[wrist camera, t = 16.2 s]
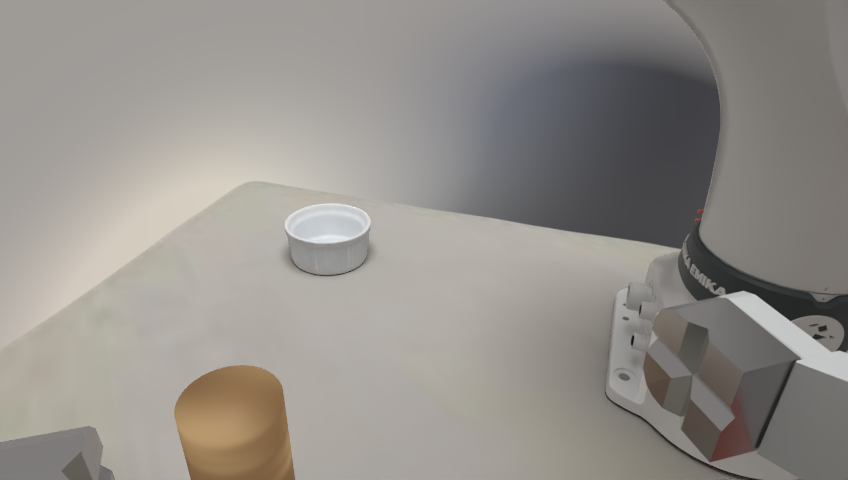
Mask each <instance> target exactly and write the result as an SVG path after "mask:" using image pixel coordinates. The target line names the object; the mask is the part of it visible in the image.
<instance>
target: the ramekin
mask: <svg viewBox="0 0 848 480" xmlns="http://www.w3.org/2000/svg"><path fill="white" fill-rule="evenodd" d="M370 227H371V219H370V217H369V216H368V214H367V213H366V212H364V211H363V210H361V209H359V208H356V207H353V206H350V205H344V204H332V203H331V204H330V203H328V204H317V205H312V206H308V207H305V208H302V209H299V210H297V211H295V212H294V213H292V214H291V215H290V216H289V217H288V218H287V219H286V221H285V223H284V228H285V232H286V234H287V236H288V241H289V246H290V251H291V256H292V259H293V261H294V263H295V264H296V265H297V266H298V267H299V268H300V269H302V270H304V271H306V272H309V273H313V274H318V275H336V274H342V273H346V272H349V271H351V270H353V269H355V268H357V267H358V266H360V265H361V264H362V263H363V262H364V261H365V259H366V256H367V251H368V238H369V231H370Z"/></svg>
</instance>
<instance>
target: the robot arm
mask: <svg viewBox="0 0 848 480" xmlns="http://www.w3.org/2000/svg"><path fill="white" fill-rule="evenodd" d="M664 1H665V3H666V4H667V5H668V6H669V7H670V8H672V9H673V10H674V11H675V12H676V13H677V14H678V15H679V16H680V17H681V18H682V19H683V21H684V22H685V23H686V24H687V25H688V26H689V27H690V28H691V30H692V31H693V33H694V34H695V36H696V37H697V39H698V40H699V41H700V43H701V45H702V47H703V49H704V51H705V52H706V54H707V56H708V59H709V61H710V64H711V66H712V69H713V72H714V74H715V78H716V82H717V86H718V92H719V98H720V106H721V126H720V135H719V142H718V147H717V153H716V159H715V164H714V169H713V174H712V179H711V184H710V188H709V192H708V196H707V200H706V205H705V209H704V210H698V212H699V213H703V216H702V218H700V219H695V222H696V224H695V225H694V227H693V229H692V231H691V232H690V234H688V235H687V237H686V239H685V241H684V244H683V247H682V250H681V251H678V252H674V253H669V254H665V255H662V256H660V257H657V258H656V259H654V260H653V261H652V262H651V263H650V266H649V269H648V272H647V276H646V280H645V284H644V285H643V284H639V283H633V282H632V283H630V284H629V287H628V288H624V289H621V290H619V291H618V292H617V295H616V298H615V301H614V309H613V319H612V329H611V339H610V349H609V359H608V369H607V379H606V394H607V396H608V397H609V398H610V399H611V400H612V401H613V402H615V403H616V404H618V405H620V406H622V407H623V408H625V409H627V410H629V411H631V412H633V413H635V414H637V415H639V416H641V417H643V418H644V419H645V420H647V421H648V422H649V423H650V424H651V425H652V426H653V427H655V428H656V429H657V430H658V431H659V432H660V433H661V434H662V435H663V436H664V437H666V438H667V439H668V440H669V441H671V442H672V443H673V444H675V445H676V446H677V447H679V448H680V449H682V450H683V451H685V452H687V453H688V454H690V455H691V456H693V457H695V458H697V459H699V460H701V461H703V462H705V463H707V464H709V465H712V466H714V467H716V468H719V469H722V470H724V471H727V472H730V473H734V474H737V475H741V476H745V477H749V478H755V479H761V480H797V479H801V480H848V0H664ZM102 450H103V445H102V443H101V441H100V438H99V436H98V433H97V431H96V429H95V428H93V427H90V426H87V427H82V428H76V429H71V430H65V431H60V432H54V433H49V434H43V435H38V436H32V437H27V438H21V439H16V440H10V441H5V442H0V480H115V478H114V475H113V472H112V471H111V470H109V469H107V468H105V467H103V466H101V465H100V464H101V457H102Z"/></svg>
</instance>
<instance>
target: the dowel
mask: <svg viewBox="0 0 848 480" xmlns="http://www.w3.org/2000/svg"><path fill="white" fill-rule="evenodd" d="M174 412H175V420H176V424H177V428H178V432H179V436H180V440H181V443H182V447H183V451H184V455H185V459H186V462H187V466H188V470H189V474H190V478H191V480H295V476H294V469H293V461H292V454H291V446H290V439H289V432H288V424H287V417H286V409H285V402H284V395H283V389H282V386H281V383H280V382H279V380H278V379H277V378H276V377H275V376H274V375H273V374H272V373H270V372H268V371H267V370H264V369H262V368H258V367H254V366H244V365H241V366H230V367H225V368H221V369H217V370H214V371H212V372H209V373H207V374H205V375H203V376H201V377H200V378H198V379H197V380H195V381H194V382H192V383H191V384H190V385H189V386H188V387H187V388H186V389H185V390H184V391H183V392H182V394H181V395H180V397H179V399H178V400H177V403H176V406H175V411H174Z"/></svg>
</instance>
